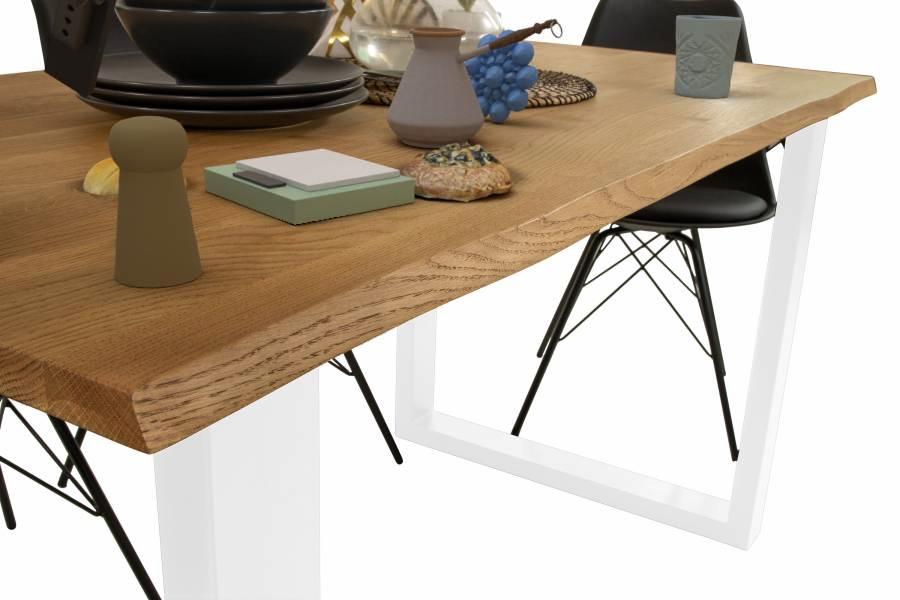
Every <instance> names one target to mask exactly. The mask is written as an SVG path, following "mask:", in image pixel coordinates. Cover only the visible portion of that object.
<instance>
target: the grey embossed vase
mask: <svg viewBox="0 0 900 600" xmlns="http://www.w3.org/2000/svg"><path fill="white" fill-rule="evenodd" d="M742 23H743V18H742V17H735V16H726V15H725V16H723V15H700V14H699V15H697V14H685V15H683V14H682V15H681V14H680V15H677V16H676V18H675V61H674V62H675V67H674V69H675V74H674V86H673V88H674V89H673V91H674V94H675V95H677V96H681V97H687V98H697V99H724V98H727V97H729V95H730V90H731V84H732V82H731V81H732V76H733V70H734V64H735V59H736V53H737V48H738V47H737V46H738V41H739V37H740V34H741V29H742Z"/></svg>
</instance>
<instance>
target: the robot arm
mask: <svg viewBox="0 0 900 600" xmlns="http://www.w3.org/2000/svg"><path fill="white" fill-rule="evenodd" d="M117 1H118V0H58V1H57V5H56V10H55V16H54V21H53V25H52V30H51V34H50V35H51V36H50V39H49V46H48V49H47V55H46V60H45V63H44V64H45V65H44V70H43V72H44V73H45V74H47V75H48V76H50V77H52V78H53V79H55V80H56V81H58V82H60V84H63V85H64V86H66V87H67V88H69V89H71V90H73V91H74V92H75V93H76V94H78V95H80V96H82V97H83V98H85V99H86V98H89V96H91V95H92V94H93V93H94V92H95V89H96V84H97V80H98V76H99V72H100V67H101V65H102V61H103V56H104V53H105V49H106V44H107V41H108V37H109V32H110V28H111V26H112V22H113V16H114V13H115V9H116V5H117ZM193 1H194V2H196V3H198V4H199V5H200V6H202V7H204V8H205V9H207V10H208V11H210V10H211V9H213V8H214V7H215V6H216V4H217V1H218V0H193Z"/></svg>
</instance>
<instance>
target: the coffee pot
mask: <svg viewBox="0 0 900 600" xmlns="http://www.w3.org/2000/svg"><path fill="white" fill-rule="evenodd" d="M556 25H558V27H559V30H560V35H559V36H558V35H557V34H556V33H555V32H554V30H553V27H554V26H556ZM546 29H547V30H549V29H550V33H551V34H552V35H553V36H554V37H555V38H556V39H561V38H562V37H563V33H564V32H563V31H564V30H563V27H562V25H561V23H559V22H558V20H557V18H551V19H547V20H545V21H544V22H542V23H539V22H535V23H534V24H533V26H529V27H524V28H520V29H517V30H513V31H514V32H512V33H510V34H508V35H506V36H504V37H502V38H499V39H497V40H495V41H493V42H491V43H489V44H488V45H485V46H482V47H479V48H478V47H477V48H473V49H470V50H468V51H466V52H463V53H461V51H460V46H461V42H462V37H463V36H464V35H466V31H465V30H464V29H460V28H453V27H413V28H409V30H408V33H409V34H411V35H412V40H413V44H414V49H413V52H412V54H411V56H410V59H409V61H408V63H407V66H406V67H405V70H404V72H403V75H402V77H401V80H400V82H399V85H398V87H397V89H396V92H395V94H394V97H393V99H392V101H391V103H390V106H389V108H388V111H387V113H386V121H387V123H388V126H389V128H390V129H391V131H392V132H393V133H394V135H396V136H397V137H400V138H401V139H402V143H404V144H405V145H408V146H412V147H417V148H427V149H428V148H429V149H440V148H442V147H444V146H447V145H450V144H453V143H458V144H459V145H460V146H462V145H464V144H466V143H468V140H470V139H472V138H474V137H475V136H476V135H477V134H478V133H479V131H480V130H481V129H482V127H483V125H484V123H485V117H484V115H483V113H482V110H481V107H480V105H479V102H478V99H477V97H476V94H475V91H474V88H473V86H472V83H471V80H470V78H469V77H470V75H468V72H467V70H466V67H465V64H464V63H465V61H467V60H470V59H472V58H474V57H477V56H479V55H482V54H484V53H486V52H489V51H493V50H496V49H499V48H502V47H505V46H508V45H511V44H515V43H521V42H524V40H526V39H528V38H529V37H532V36H533V35H535V34H537V35H541V34H542V33H543V31H544V30H546ZM468 144H469V143H468Z"/></svg>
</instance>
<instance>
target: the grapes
mask: <svg viewBox="0 0 900 600" xmlns="http://www.w3.org/2000/svg"><path fill="white" fill-rule="evenodd" d="M514 31H515V30H514V29H505V30H503V31H502V32H501V33H500V34H499V35H498V36H496V34H492V33H488V34H484V35H483V36H482V37H481V38H480V39H479V40H478V43H477V48H479V47H482V46H485V45H488V44H489V43H491V42H493V41H495V40H497V39H499V38H502V37H504V36H506V35H508V34H510V33H512V32H514ZM534 56H535V49H534V46H533V44H531V42H527V41H521V42H518V43H515V44H511V45H508V46H505V47H502V48H499V49H496V50H493V51H489V52H486V53H484V54H482V55H479V56H477V57H474V58H472V59H470V60H467V61H465V62H464V64H465V67H466V70H467V72H468V75H469V78H470V80H471V83H472V86H473V88H474V91H475V94H476V97H477V99H478V102H479V105H480V107H481V110H482V113H483V115H484V118H487V117H489V119H490V121H492V122H493V123H497V124H501V123H504V122H506V121H507V119H508V118H509V117H510V114H511V112H515V113H519V112H522V111H523V110H524V109H526V107H527V106H528V104H529V99H530V98H529V93H528V91H527V90H530V89H533V87H534V86H536V84H537V82H538V80H539V72H538V69H537V68H536V67H535V66H534V65H530V63H531V62H532V61H533V59H534Z"/></svg>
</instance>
